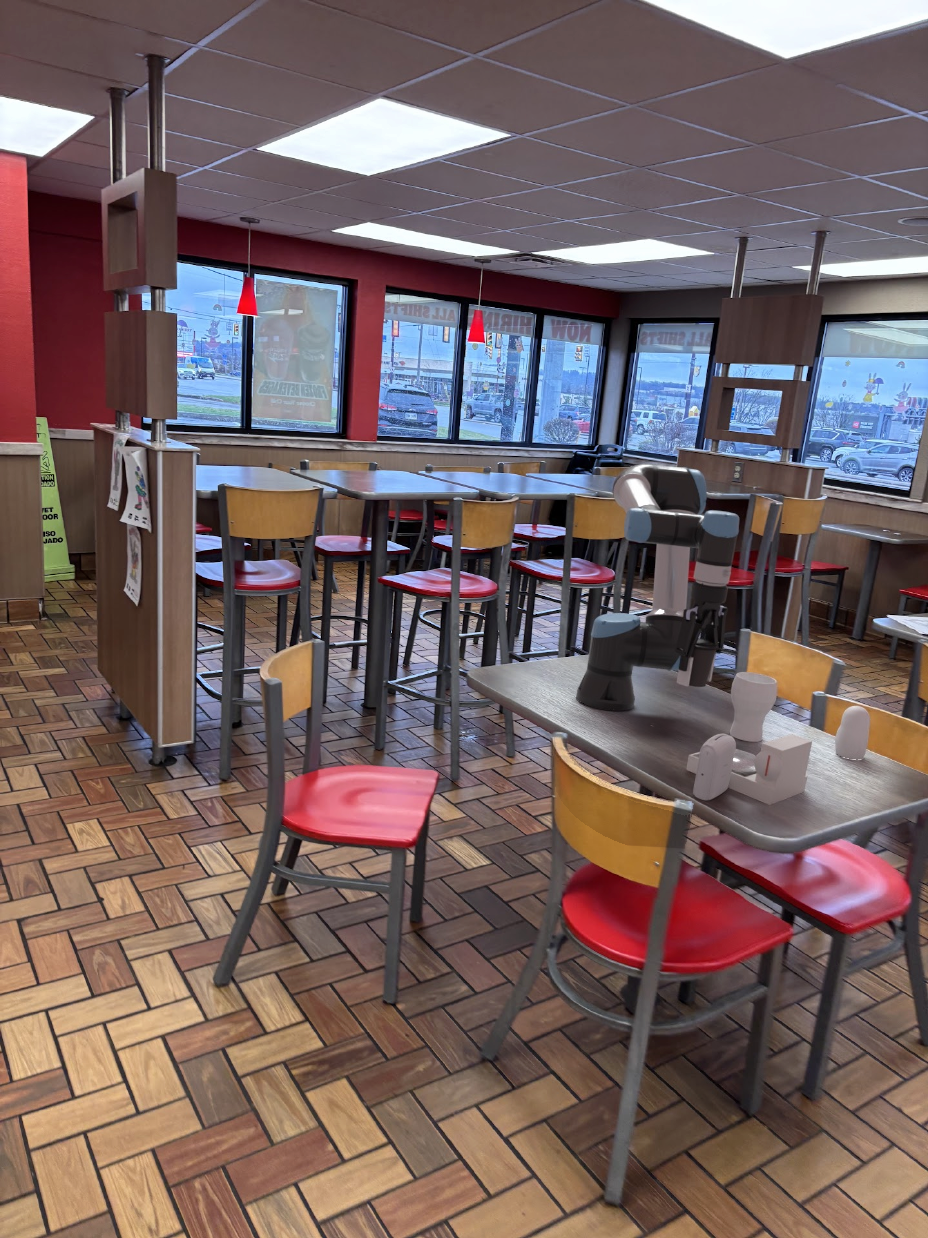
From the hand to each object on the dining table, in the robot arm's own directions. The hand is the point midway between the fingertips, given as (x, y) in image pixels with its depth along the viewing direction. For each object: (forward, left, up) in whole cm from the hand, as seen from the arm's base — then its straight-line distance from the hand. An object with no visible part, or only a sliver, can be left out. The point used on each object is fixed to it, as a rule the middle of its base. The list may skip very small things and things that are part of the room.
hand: (693, 682), depth 203 cm
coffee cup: (0, 0, -1) cm, 1 cm away
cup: (+1, +25, -17) cm, 30 cm away
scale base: (+17, -2, -17) cm, 24 cm away
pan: (+14, -2, -16) cm, 21 cm away
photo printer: (+17, -15, -17) cm, 28 cm away
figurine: (+21, +38, -17) cm, 47 cm away
